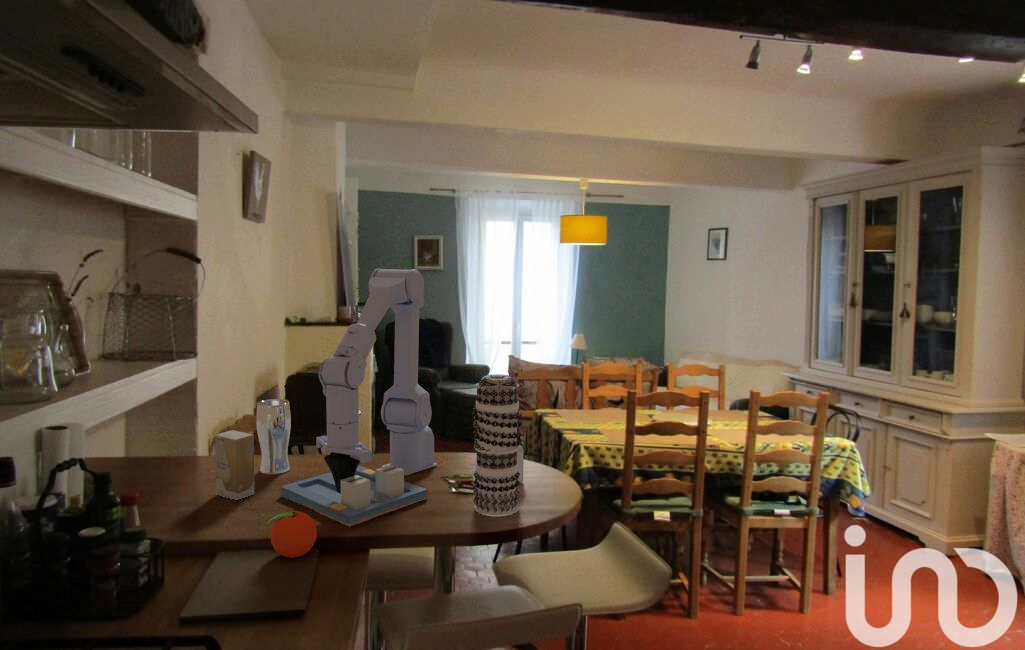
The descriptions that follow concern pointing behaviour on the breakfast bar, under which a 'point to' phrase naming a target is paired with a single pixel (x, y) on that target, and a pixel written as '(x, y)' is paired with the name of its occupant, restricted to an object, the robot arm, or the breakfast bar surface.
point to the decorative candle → (496, 445)
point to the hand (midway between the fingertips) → (343, 491)
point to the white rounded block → (520, 463)
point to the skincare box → (234, 464)
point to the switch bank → (327, 500)
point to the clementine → (293, 534)
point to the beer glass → (273, 435)
